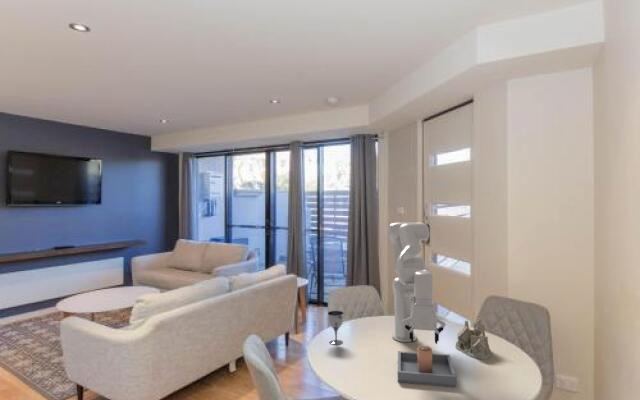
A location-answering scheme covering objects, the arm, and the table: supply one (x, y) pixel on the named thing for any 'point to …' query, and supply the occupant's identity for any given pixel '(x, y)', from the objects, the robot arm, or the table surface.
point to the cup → (424, 359)
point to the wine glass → (335, 324)
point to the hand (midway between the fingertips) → (423, 341)
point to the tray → (439, 376)
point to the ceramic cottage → (473, 341)
